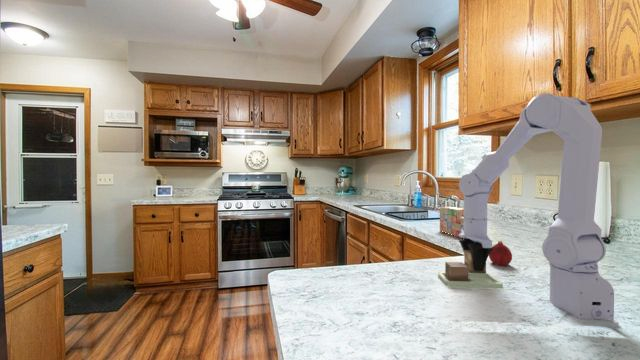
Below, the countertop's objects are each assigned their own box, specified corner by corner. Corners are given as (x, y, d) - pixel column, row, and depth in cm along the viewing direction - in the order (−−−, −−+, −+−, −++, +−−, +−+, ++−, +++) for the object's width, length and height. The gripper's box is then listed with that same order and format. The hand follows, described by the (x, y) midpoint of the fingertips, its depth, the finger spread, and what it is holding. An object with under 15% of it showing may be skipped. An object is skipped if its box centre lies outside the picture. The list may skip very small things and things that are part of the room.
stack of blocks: (483, 241, 119) (483, 211, 119) (470, 241, 118) (470, 212, 118) (450, 231, 140) (450, 206, 140) (439, 231, 139) (439, 206, 139)
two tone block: (486, 276, 77) (486, 254, 77) (470, 276, 77) (470, 253, 77) (479, 271, 81) (479, 250, 81) (464, 271, 81) (464, 250, 81)
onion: (515, 271, 81) (516, 243, 81) (493, 270, 82) (493, 242, 82) (506, 265, 87) (507, 239, 87) (485, 264, 88) (486, 238, 88)
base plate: (508, 295, 65) (508, 286, 65) (449, 293, 67) (449, 284, 66) (486, 279, 75) (486, 271, 75) (435, 277, 76) (435, 270, 76)
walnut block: (468, 283, 69) (468, 267, 69) (451, 283, 69) (451, 266, 69) (461, 277, 73) (461, 262, 73) (445, 277, 73) (445, 261, 73)
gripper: (450, 214, 86) (450, 259, 86) (471, 222, 72) (471, 276, 72) (474, 215, 86) (474, 260, 86) (501, 223, 71) (500, 277, 71)
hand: (474, 267), depth 79 cm, fingers closed on two tone block, 4 cm apart
